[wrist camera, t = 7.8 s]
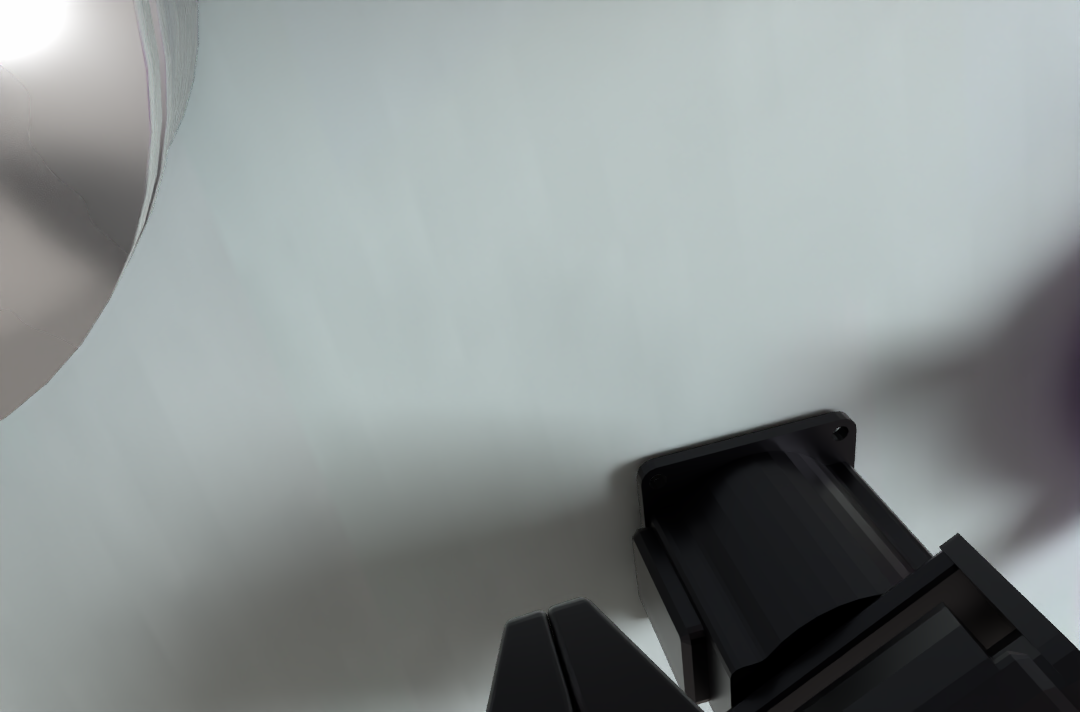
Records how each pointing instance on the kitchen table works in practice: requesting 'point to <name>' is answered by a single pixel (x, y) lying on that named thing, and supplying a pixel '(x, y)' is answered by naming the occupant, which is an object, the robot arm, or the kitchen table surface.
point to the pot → (173, 71)
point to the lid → (70, 172)
